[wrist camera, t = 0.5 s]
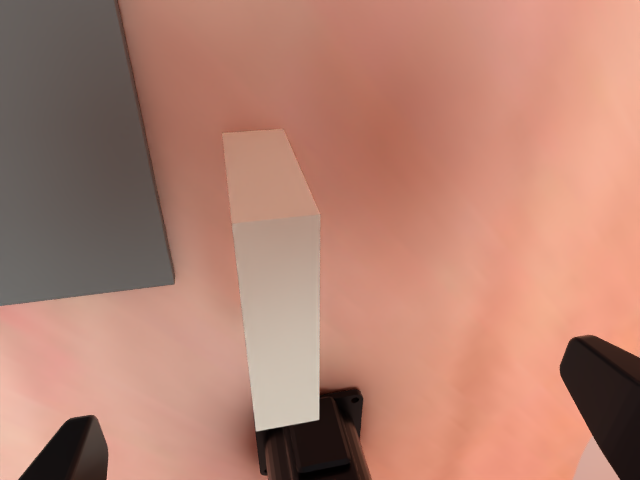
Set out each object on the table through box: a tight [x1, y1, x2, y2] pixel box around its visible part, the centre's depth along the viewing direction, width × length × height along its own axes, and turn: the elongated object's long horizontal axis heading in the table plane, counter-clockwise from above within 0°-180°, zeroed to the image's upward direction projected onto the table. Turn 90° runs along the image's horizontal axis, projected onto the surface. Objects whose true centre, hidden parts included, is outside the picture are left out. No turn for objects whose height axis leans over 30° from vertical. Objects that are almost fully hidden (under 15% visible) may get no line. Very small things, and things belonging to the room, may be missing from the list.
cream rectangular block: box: [222, 129, 320, 431], centre depth 18 cm, size 9×3×7 cm, turn 179°
